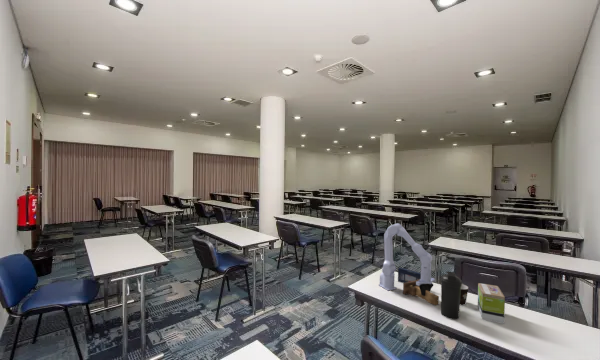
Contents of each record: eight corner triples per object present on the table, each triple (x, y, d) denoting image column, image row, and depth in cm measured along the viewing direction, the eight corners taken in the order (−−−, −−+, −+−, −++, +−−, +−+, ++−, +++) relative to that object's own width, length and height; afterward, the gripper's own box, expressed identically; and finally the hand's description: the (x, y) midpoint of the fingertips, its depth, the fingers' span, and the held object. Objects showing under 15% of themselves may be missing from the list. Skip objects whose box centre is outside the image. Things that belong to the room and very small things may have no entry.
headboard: (403, 293, 169) (403, 283, 168) (419, 289, 175) (419, 279, 175) (409, 297, 164) (409, 286, 164) (425, 292, 171) (426, 282, 170)
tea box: (476, 306, 154) (477, 282, 153) (497, 311, 149) (498, 285, 149) (481, 319, 140) (482, 292, 140) (504, 324, 136) (505, 296, 135)
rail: (412, 293, 169) (413, 286, 169) (416, 292, 170) (416, 285, 170) (435, 305, 154) (435, 297, 154) (438, 304, 156) (438, 296, 156)
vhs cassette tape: (397, 281, 188) (397, 267, 188) (399, 280, 190) (399, 266, 190) (423, 290, 175) (424, 275, 174) (425, 288, 177) (425, 274, 176)
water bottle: (459, 312, 146) (460, 272, 146) (461, 322, 137) (463, 279, 137) (438, 308, 151) (440, 269, 150) (440, 317, 141) (441, 275, 141)
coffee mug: (463, 299, 163) (463, 283, 162) (470, 306, 154) (471, 289, 154) (443, 298, 164) (444, 282, 163) (450, 305, 155) (450, 288, 155)
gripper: (423, 277, 155) (422, 299, 156) (439, 273, 161) (438, 295, 162) (413, 273, 162) (412, 294, 162) (429, 269, 168) (428, 290, 168)
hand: (425, 294), depth 162 cm, fingers closed on rail, 3 cm apart
